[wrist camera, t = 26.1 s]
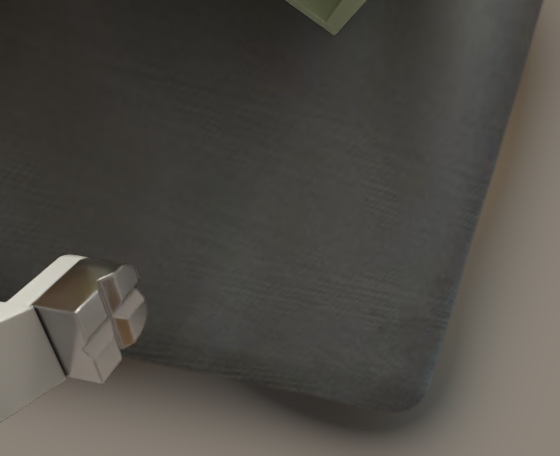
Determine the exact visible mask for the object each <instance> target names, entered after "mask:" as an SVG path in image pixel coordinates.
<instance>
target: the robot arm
mask: <svg viewBox="0 0 560 456" xmlns="http://www.w3.org/2000/svg"><path fill="white" fill-rule="evenodd" d="M139 281H140V279H139V276H138V274H137V271H136V268H135V267H134V266H132V265H130V264H127V263H121V262H115V261H109V260H103V259H97V258H91V257H88V258H87V257H82V256H76V255H70V254H68V255H64V256H60V257H59V258H58V259H57V260H55V261H54V262H53V263H52V264H51V265H50V266H48V267H47V268H46V269H45V270H44V271H42V272H41V273H40V274H39V275H38V276H37V277H35V278H34V279H33V280H32V281H31V282H30V283H28V284H27V285H26V286H25V287H24V288H22V289H21V290H20V291H19V292H18V293H17V294H15V295H14V296H13V297H12V298H11V299H9V300H8V301H7V302H0V423H1V422H2V421H4V420H5V419H7V418H8V417H10V416H12V415H13V414H15V413H16V412H18V411H19V410H21V409H22V408H24V407H25V406H27V405H28V404H30V403H31V402H33V401H35V400H36V399H38V398H39V397H41V396H42V395H44V394H45V393H47V392H48V391H50V390H51V389H53V388H54V387H56V386H57V385H59V384H60V383H62V382H64V381H65V380H66V379H67V378H66V377H68V378H73V379H79V380H83V381H89V382H94V383H99V384H104V383H105V382H106V380H107V379H108V378H109V376H110V375H111V374H112V373H113V371H114V370H115V369H116V367H117V366H118V365H119V363H120V362H121V361H122V359H123V349H124V348H126V347H128V346H129V345H131V344H133V343H135V342H136V341H137V339H138V338H139V337H140V335H141V334H142V332H143V330H144V327H145V324H146V321H147V318H148V307H147V303H146V300H145V297H144V296H143V295H142V294H141V293H140V292H139V291H138V290H137V289H136V287H137V285H138V283H139Z"/></svg>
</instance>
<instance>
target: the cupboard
mask: <svg viewBox="0 0 560 456" xmlns="http://www.w3.org/2000/svg"><path fill="white" fill-rule="evenodd" d="M285 1H287V2H288V3H289V4H291V5H292V6H294V7H295V8H296V9H298V10H299V11H300V12H302V13H303V14H305V15H306V16H307V17H309V18H310V19H312V20H313V21H314V22H316V23H317V24H319V25H320V26H321V27H323V28H324V29H326V30H327V31H328V32H330V33H331V34H333V35H334V36H335V35H336V34H337V33H338V32H339V30H340V29H341V28H342V27H343V26H344V25H345V24H346V23H347V22H348V20H349V19H350V18H351V17H352V16H353V15H354V14H355V13H356V12H357V10H358V9H359V8H360V7H361V6H362V5H363V4H364V3H365V2H366V0H285Z"/></svg>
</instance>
